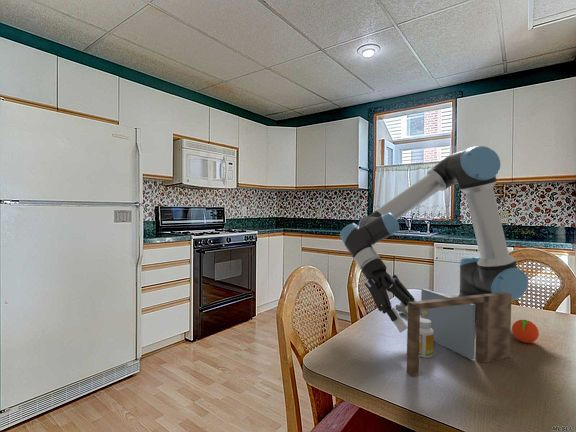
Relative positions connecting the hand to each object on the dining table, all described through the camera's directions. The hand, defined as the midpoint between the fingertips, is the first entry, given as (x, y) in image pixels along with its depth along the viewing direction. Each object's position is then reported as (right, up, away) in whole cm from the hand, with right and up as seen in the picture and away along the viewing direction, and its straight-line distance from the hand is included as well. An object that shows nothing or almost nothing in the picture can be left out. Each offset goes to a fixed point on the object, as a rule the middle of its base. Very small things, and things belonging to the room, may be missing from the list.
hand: (412, 327), depth 95 cm
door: (+11, -6, +3) cm, 13 cm away
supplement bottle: (+2, -7, -2) cm, 8 cm away
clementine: (+38, -8, +7) cm, 39 cm away
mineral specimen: (+12, -7, +30) cm, 33 cm away
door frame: (+10, -7, -9) cm, 15 cm away
